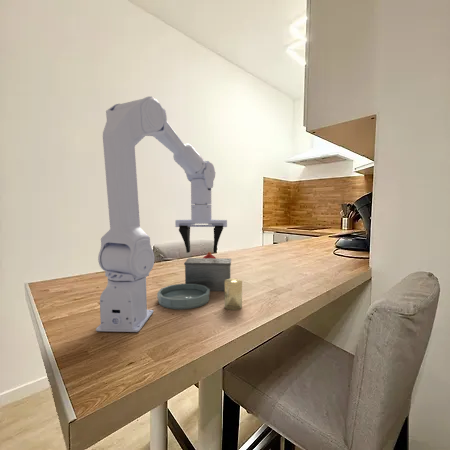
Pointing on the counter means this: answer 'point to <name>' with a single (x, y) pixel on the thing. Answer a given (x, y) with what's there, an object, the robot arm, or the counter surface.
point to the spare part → (233, 294)
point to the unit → (208, 272)
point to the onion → (209, 255)
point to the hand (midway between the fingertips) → (201, 252)
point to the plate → (183, 296)
